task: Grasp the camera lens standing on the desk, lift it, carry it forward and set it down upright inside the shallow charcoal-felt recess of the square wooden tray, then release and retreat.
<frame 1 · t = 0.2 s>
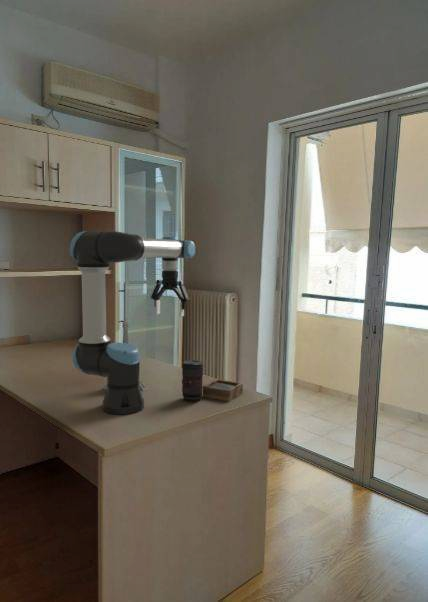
hand: (169, 315, 210), 28 cm above the table, fingers open, 13 cm apart
square wooden tray: (222, 394, 181), on the table
eiffel tower: (125, 389, 187), on the table
camera lens: (192, 400, 175), on the table
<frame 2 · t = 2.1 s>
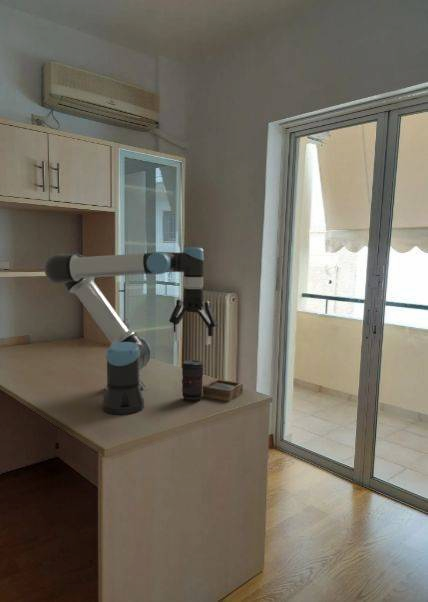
hand: (192, 342, 173), 23 cm above the table, fingers open, 13 cm apart
nothing on the table moved.
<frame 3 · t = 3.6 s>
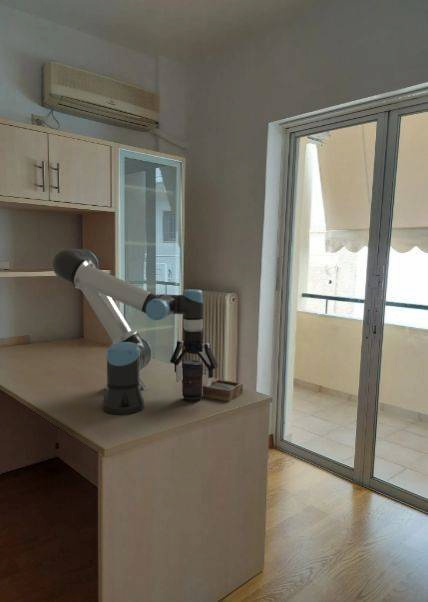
hand: (193, 383, 174), 7 cm above the table, fingers open, 13 cm apart
eiffel tower: (126, 389, 187), on the table, touching arm
everything else where it was.
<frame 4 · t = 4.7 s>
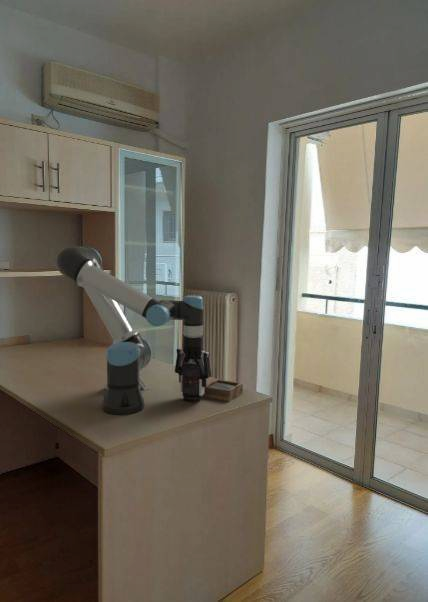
hand: (192, 392, 174), 3 cm above the table, fingers closed on camera lens, 8 cm apart
camera lens: (192, 400, 175), on the table, touching gripper
everything else where it was.
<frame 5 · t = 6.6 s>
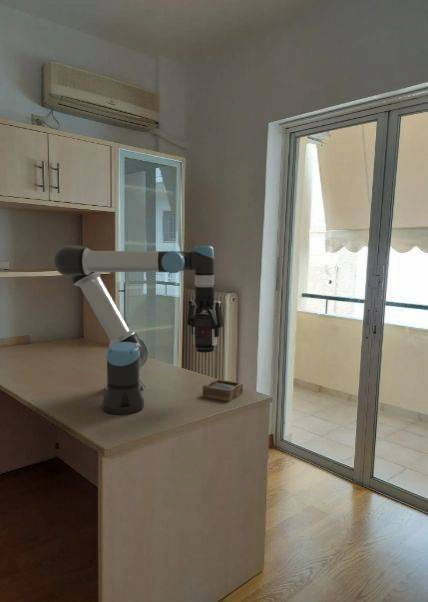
hand: (205, 344, 174), 22 cm above the table, fingers closed on camera lens, 8 cm apart
eiffel tower: (126, 389, 187), on the table
camera lens: (205, 351, 175), point 19 cm above the table, touching gripper
when the fingers open (7 cm above the table, at t = 9.6 s): camera lens moves 2 cm, resting on square wooden tray.
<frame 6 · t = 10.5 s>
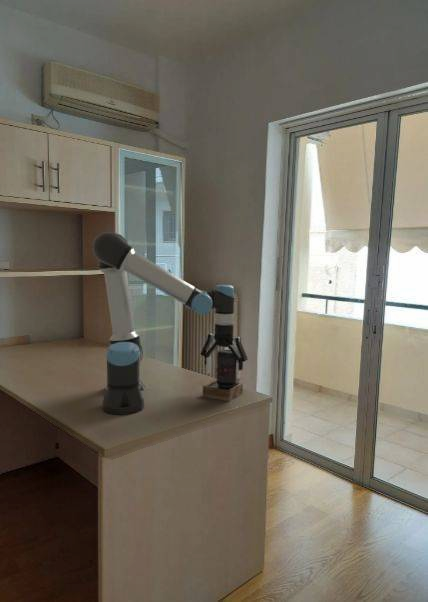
hand: (223, 375, 180), 8 cm above the table, fingers open, 13 cm apart
camera lens: (226, 388, 180), point 3 cm above the table, touching square wooden tray
everything else where it was.
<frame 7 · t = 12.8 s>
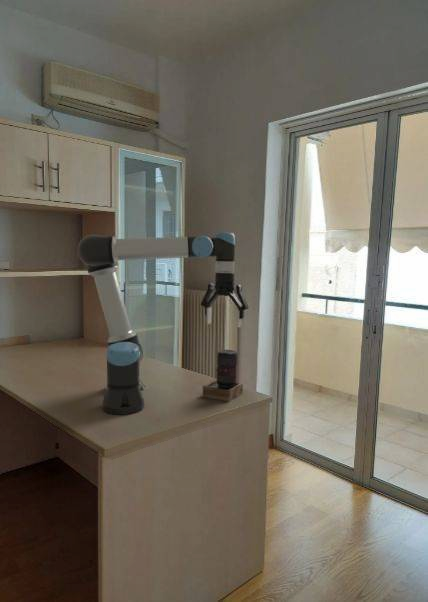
hand: (223, 325, 178), 29 cm above the table, fingers open, 13 cm apart
nothing on the table moved.
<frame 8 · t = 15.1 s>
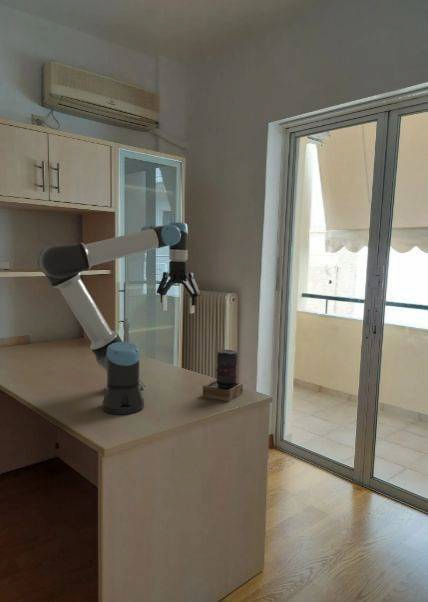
hand: (177, 312, 185), 33 cm above the table, fingers open, 13 cm apart
nothing on the table moved.
at the end: camera lens inside the target area on the square wooden tray (1.7 cm from its centre), point 3.0 cm above the square wooden tray's base; camera lens tilted 0°; camera lens touching square wooden tray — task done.
